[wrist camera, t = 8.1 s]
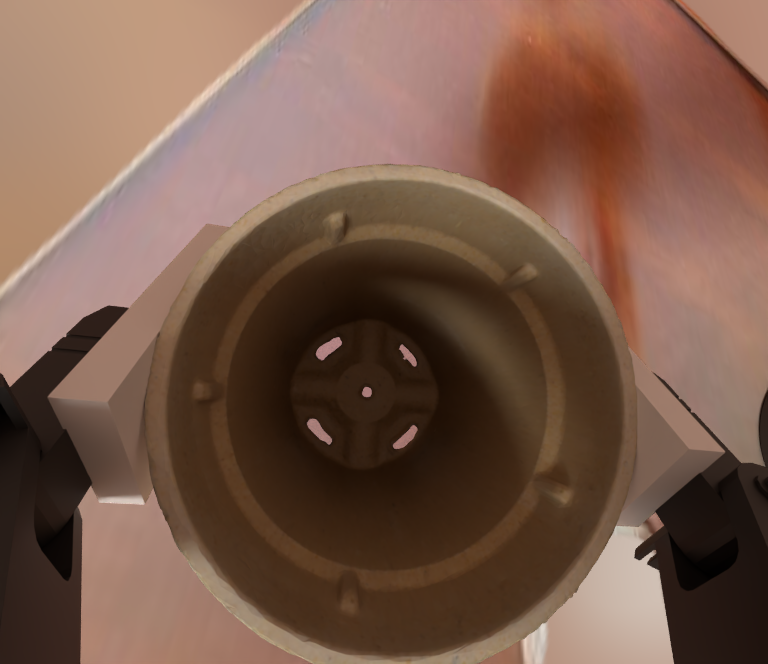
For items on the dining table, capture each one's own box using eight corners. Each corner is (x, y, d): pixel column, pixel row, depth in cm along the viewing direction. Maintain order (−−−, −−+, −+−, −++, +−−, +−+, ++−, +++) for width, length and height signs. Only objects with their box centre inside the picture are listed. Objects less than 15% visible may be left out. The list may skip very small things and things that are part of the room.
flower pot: (314, 241, 16) (306, 78, 7) (505, 338, 17) (692, 290, 8) (200, 450, 14) (17, 545, 6) (421, 548, 15) (551, 762, 6)
